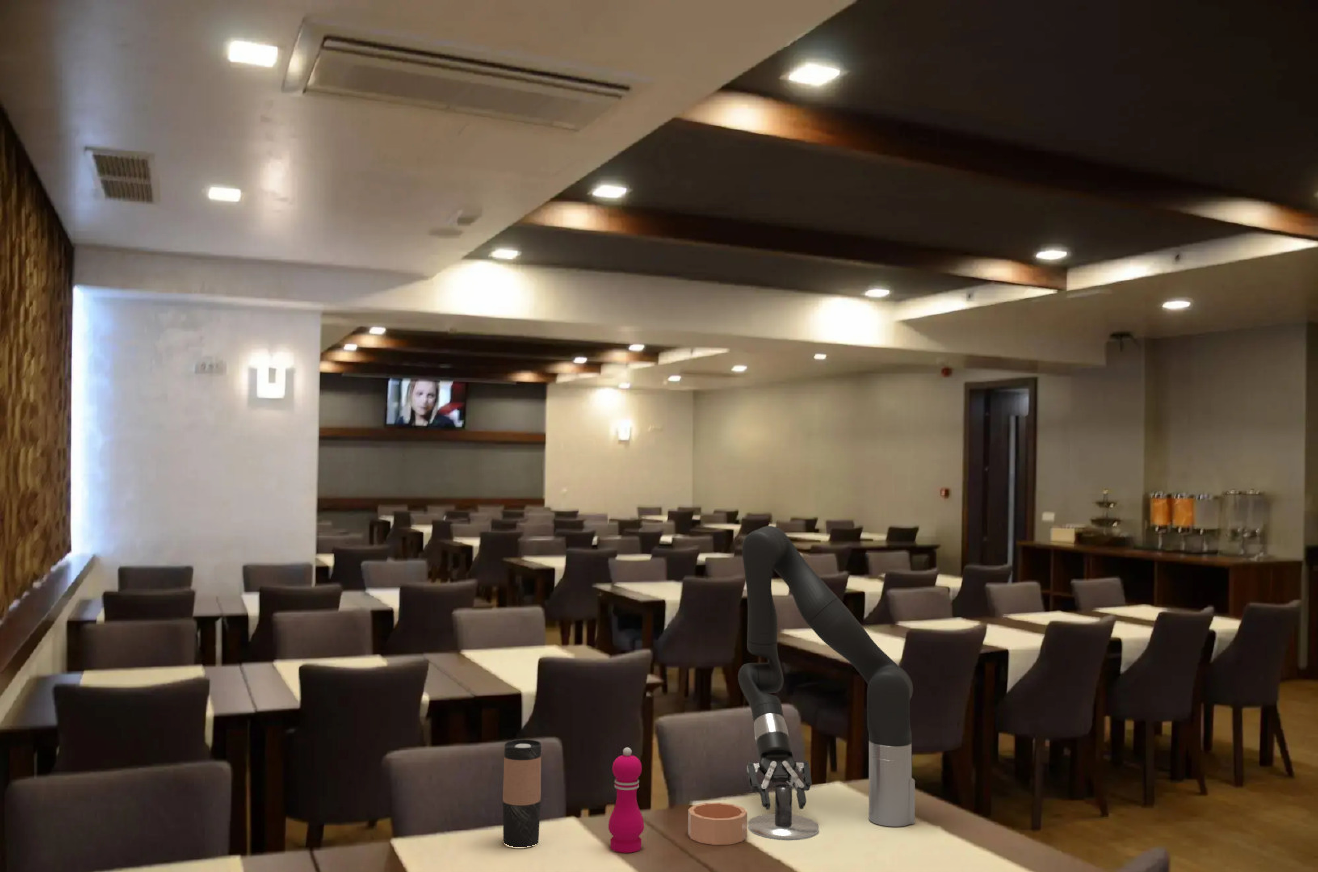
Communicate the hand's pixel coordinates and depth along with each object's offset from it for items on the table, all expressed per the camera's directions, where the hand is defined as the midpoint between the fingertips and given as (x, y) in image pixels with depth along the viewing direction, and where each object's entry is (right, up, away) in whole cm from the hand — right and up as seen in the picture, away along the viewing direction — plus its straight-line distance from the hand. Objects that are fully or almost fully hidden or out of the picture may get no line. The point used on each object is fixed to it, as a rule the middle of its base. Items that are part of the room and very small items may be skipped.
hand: (785, 807), depth 226 cm
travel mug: (-55, -4, -10) cm, 56 cm away
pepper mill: (-34, -4, -12) cm, 36 cm away
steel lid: (0, -5, +1) cm, 5 cm away
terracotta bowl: (-15, -5, -4) cm, 16 cm away
